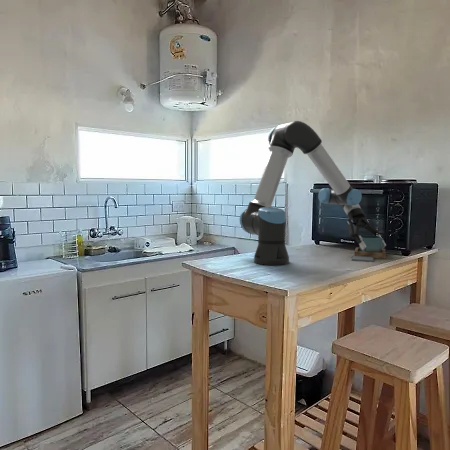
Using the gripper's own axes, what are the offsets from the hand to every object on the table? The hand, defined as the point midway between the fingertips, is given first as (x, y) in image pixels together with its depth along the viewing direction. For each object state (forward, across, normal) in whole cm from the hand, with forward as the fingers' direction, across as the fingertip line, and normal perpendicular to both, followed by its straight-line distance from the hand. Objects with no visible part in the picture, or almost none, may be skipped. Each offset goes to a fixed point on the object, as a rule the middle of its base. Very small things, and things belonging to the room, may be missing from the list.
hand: (374, 247), depth 190 cm
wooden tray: (+1, 0, -5) cm, 5 cm away
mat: (+6, +10, 0) cm, 11 cm away
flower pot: (+1, 0, -5) cm, 5 cm away
